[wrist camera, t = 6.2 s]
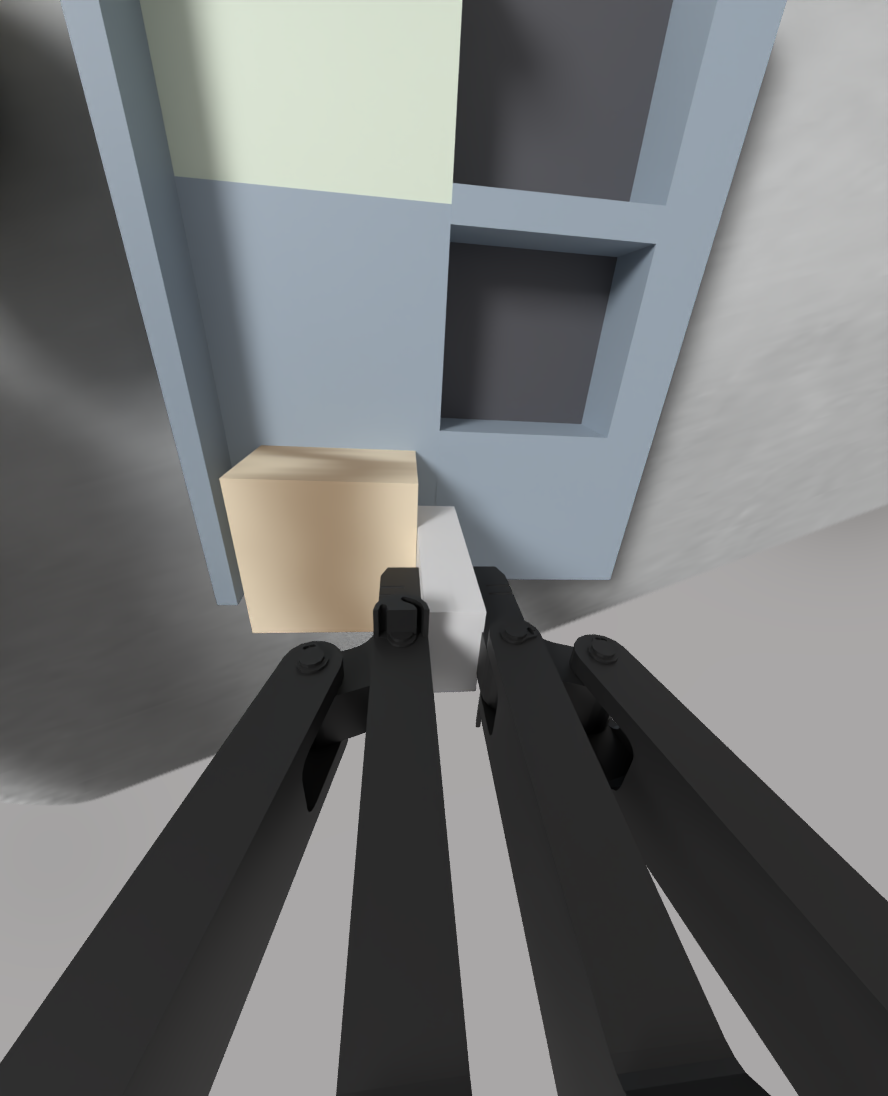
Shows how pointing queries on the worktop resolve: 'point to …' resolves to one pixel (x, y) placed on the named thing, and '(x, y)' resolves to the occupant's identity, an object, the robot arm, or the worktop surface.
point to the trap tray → (424, 238)
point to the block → (319, 533)
